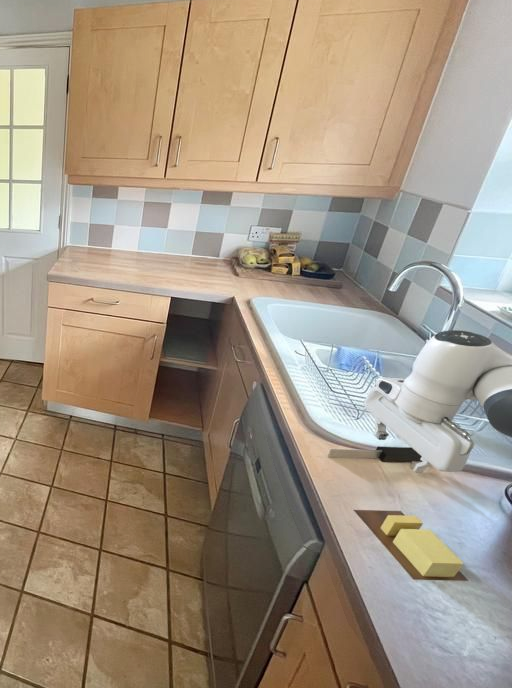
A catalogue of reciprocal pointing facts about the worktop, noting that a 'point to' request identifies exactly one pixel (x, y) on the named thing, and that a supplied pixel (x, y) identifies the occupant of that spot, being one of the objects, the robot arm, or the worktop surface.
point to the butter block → (427, 553)
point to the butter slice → (400, 524)
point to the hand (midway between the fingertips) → (396, 453)
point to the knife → (380, 454)
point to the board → (374, 523)
